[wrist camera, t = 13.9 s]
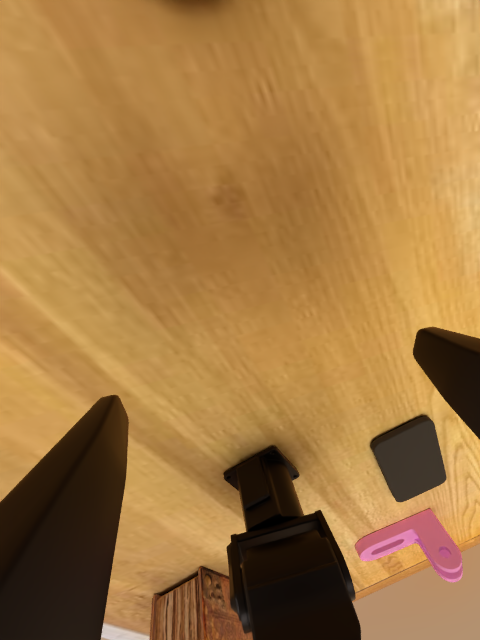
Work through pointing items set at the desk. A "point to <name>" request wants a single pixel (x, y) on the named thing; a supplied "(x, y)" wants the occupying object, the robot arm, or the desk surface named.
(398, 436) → the phone
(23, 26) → the desk surface
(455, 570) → the bracket
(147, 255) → the desk surface
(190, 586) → the book
